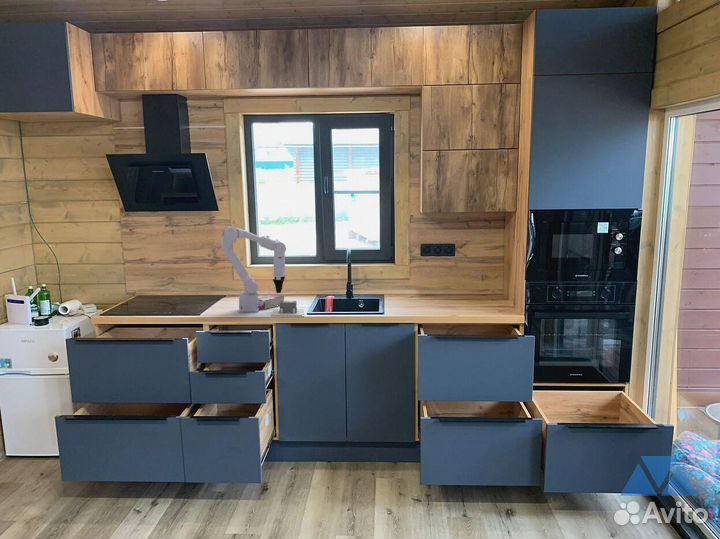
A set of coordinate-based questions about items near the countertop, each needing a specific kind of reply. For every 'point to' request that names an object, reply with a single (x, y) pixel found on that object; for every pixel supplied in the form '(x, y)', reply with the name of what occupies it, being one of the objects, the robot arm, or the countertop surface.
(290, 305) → the block
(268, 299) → the candy bar box
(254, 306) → the robot arm
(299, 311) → the tray
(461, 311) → the countertop surface
